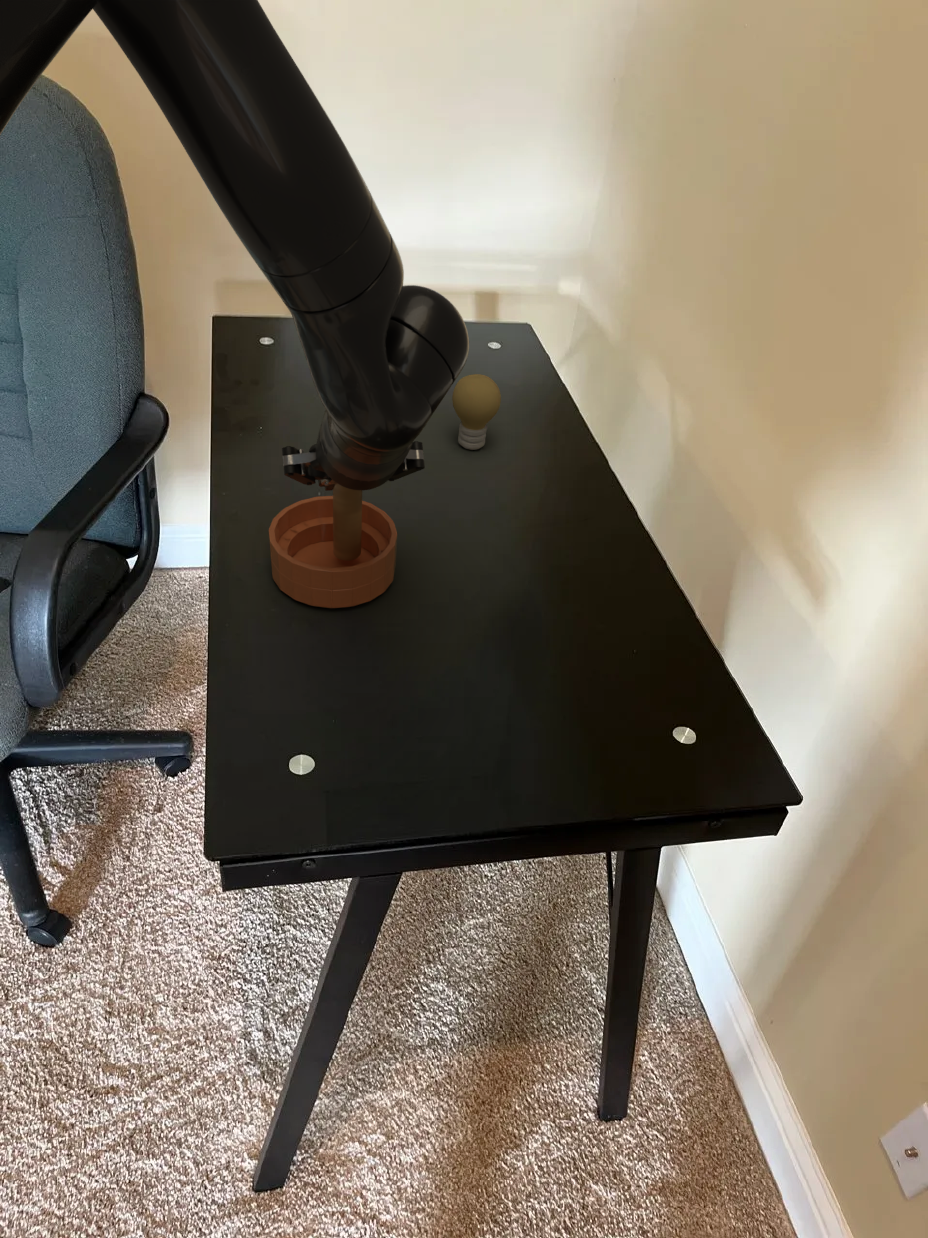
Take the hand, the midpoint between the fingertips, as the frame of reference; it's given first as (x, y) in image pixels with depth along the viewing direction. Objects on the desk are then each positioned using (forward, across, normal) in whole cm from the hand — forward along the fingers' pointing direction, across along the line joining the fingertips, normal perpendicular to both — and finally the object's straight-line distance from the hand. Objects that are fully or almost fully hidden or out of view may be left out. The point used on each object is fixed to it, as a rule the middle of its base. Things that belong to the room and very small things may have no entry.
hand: (344, 479), depth 86 cm
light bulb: (+23, -20, -9) cm, 32 cm away
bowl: (+5, +2, +9) cm, 10 cm away
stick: (+4, 0, +7) cm, 8 cm away
